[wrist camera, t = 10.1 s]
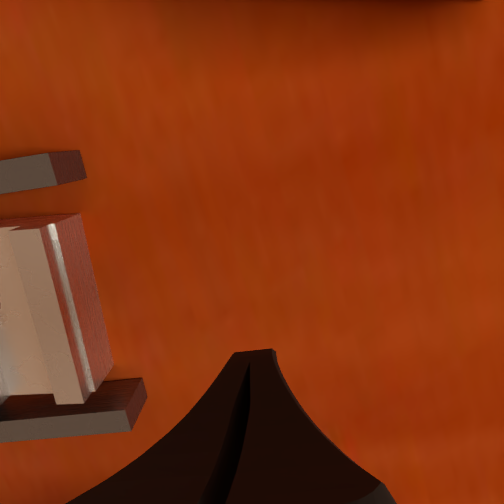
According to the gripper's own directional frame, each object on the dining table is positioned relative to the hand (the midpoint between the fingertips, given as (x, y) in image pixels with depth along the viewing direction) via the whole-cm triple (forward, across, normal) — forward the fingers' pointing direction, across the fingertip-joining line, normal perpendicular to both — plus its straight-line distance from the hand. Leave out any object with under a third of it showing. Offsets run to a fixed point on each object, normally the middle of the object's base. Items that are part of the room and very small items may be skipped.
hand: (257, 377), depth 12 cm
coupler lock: (+11, +14, 0) cm, 17 cm away
